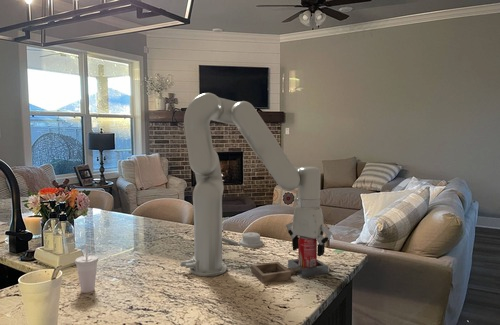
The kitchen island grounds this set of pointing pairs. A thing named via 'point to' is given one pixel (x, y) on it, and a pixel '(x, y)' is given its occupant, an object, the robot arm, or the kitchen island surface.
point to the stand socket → (270, 277)
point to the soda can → (307, 252)
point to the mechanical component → (251, 240)
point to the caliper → (230, 241)
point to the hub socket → (307, 269)
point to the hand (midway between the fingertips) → (307, 252)
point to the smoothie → (87, 271)
